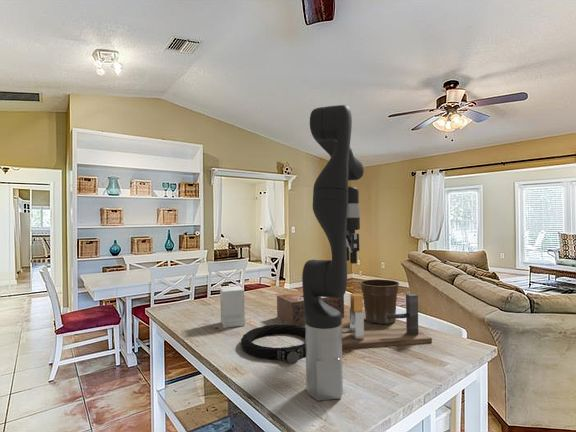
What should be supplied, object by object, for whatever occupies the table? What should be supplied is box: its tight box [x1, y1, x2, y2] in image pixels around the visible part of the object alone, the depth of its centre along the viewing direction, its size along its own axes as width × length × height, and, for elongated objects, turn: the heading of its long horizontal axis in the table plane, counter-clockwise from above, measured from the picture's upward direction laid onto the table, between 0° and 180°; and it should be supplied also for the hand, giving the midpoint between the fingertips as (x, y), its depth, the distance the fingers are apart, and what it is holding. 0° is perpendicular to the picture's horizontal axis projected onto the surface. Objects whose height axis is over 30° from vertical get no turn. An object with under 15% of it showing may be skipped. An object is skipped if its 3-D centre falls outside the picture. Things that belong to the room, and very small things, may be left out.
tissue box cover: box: [276, 291, 345, 326], centre depth 153 cm, size 26×14×10 cm, turn 116°
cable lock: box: [240, 323, 306, 364], centre depth 120 cm, size 28×4×30 cm
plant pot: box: [359, 279, 400, 325], centre depth 147 cm, size 16×16×16 cm
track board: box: [342, 293, 433, 350], centre depth 124 cm, size 12×34×16 cm, turn 98°
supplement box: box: [219, 285, 246, 329], centre depth 145 cm, size 9×9×15 cm
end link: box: [342, 292, 365, 339], centre depth 122 cm, size 6×9×15 cm, turn 98°
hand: (349, 261), depth 123 cm, fingers open, 8 cm apart
